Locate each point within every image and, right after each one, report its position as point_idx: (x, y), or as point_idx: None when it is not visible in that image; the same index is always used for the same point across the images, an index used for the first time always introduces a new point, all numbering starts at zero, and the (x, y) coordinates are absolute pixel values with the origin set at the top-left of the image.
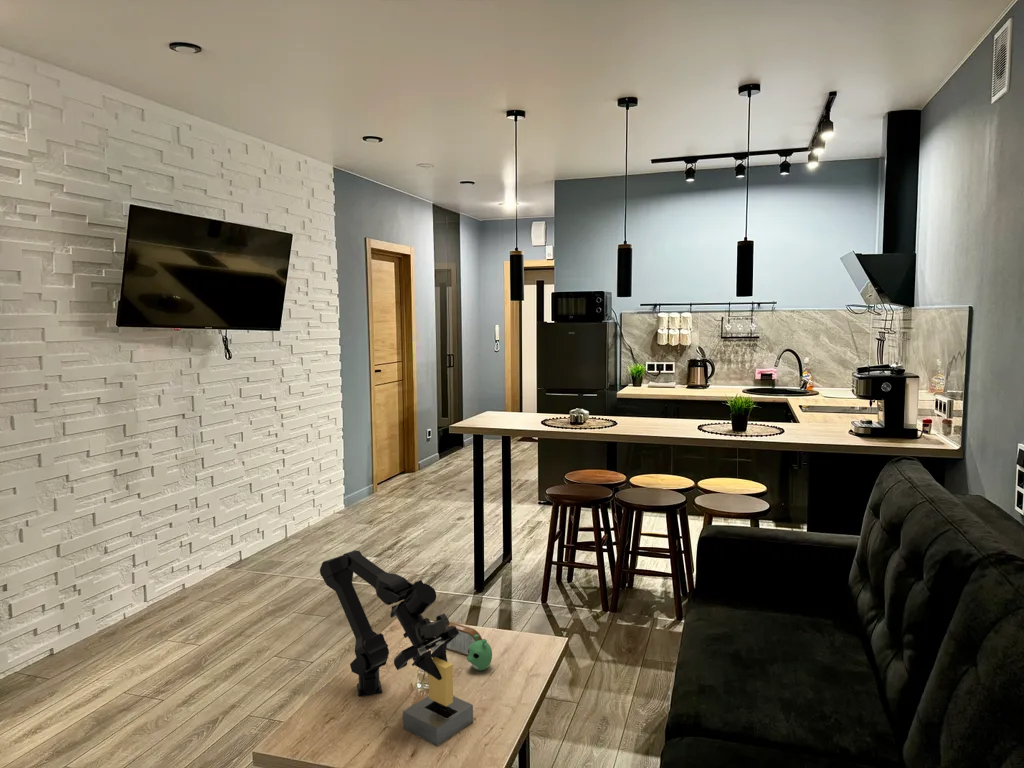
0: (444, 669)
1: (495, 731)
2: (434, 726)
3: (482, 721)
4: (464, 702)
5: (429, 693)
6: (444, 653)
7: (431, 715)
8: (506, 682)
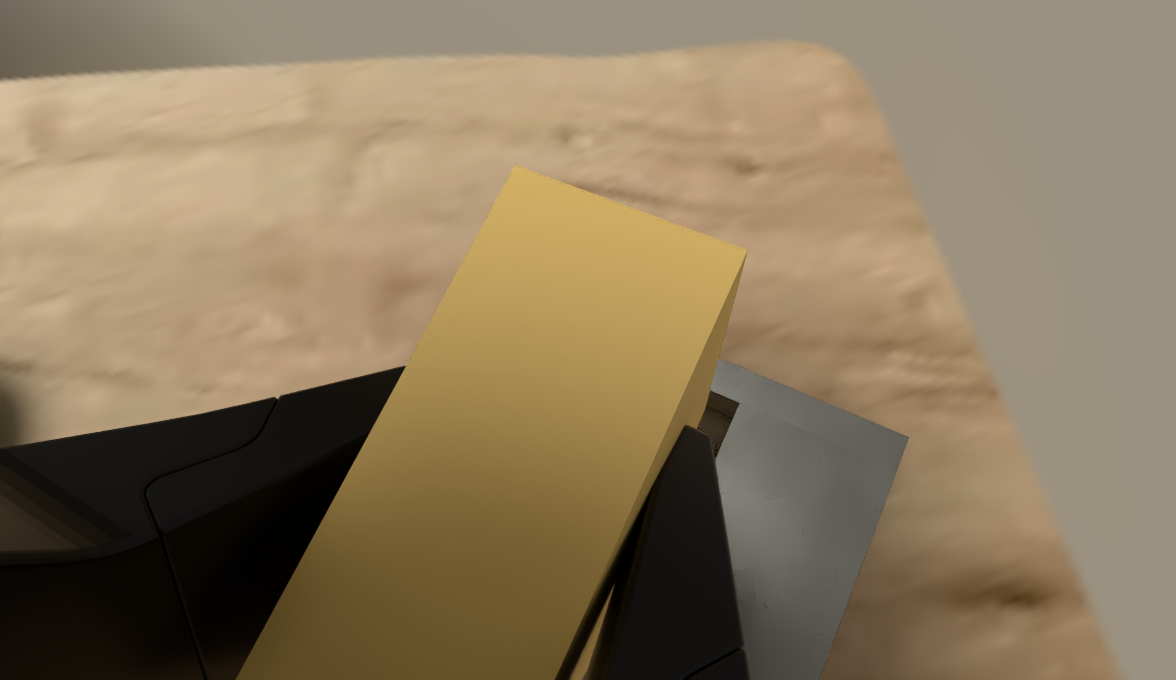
0: (724, 305)
1: (606, 159)
2: (889, 468)
3: None
4: None
5: None
6: (115, 466)
7: (732, 554)
8: (111, 251)
